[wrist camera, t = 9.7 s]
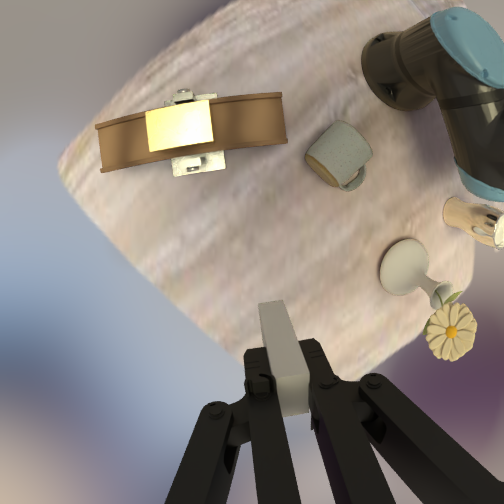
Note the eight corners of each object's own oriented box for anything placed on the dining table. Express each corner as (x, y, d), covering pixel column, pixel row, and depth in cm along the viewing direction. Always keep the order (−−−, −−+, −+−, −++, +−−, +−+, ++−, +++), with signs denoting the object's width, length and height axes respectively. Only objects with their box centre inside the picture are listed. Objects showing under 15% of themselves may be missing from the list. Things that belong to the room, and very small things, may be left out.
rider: (211, 107, 33) (208, 99, 28) (215, 142, 34) (213, 140, 29) (156, 117, 32) (145, 111, 28) (160, 151, 34) (149, 151, 29)
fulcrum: (268, 88, 40) (278, 73, 31) (277, 162, 44) (289, 164, 35) (118, 113, 39) (94, 106, 30) (127, 185, 43) (105, 193, 34)
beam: (278, 95, 34) (281, 91, 32) (284, 143, 36) (287, 143, 34) (102, 126, 33) (94, 124, 31) (107, 171, 36) (100, 173, 33)
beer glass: (452, 234, 51) (501, 258, 36) (436, 215, 49) (488, 236, 35) (467, 208, 49) (517, 226, 35) (452, 188, 47) (505, 202, 33)
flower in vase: (406, 224, 49) (503, 274, 25) (431, 263, 52) (514, 321, 28) (358, 273, 51) (436, 353, 28) (387, 307, 54) (457, 385, 31)
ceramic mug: (296, 155, 44) (309, 157, 37) (329, 121, 42) (348, 116, 35) (340, 201, 47) (359, 210, 40) (371, 167, 45) (394, 171, 38)
